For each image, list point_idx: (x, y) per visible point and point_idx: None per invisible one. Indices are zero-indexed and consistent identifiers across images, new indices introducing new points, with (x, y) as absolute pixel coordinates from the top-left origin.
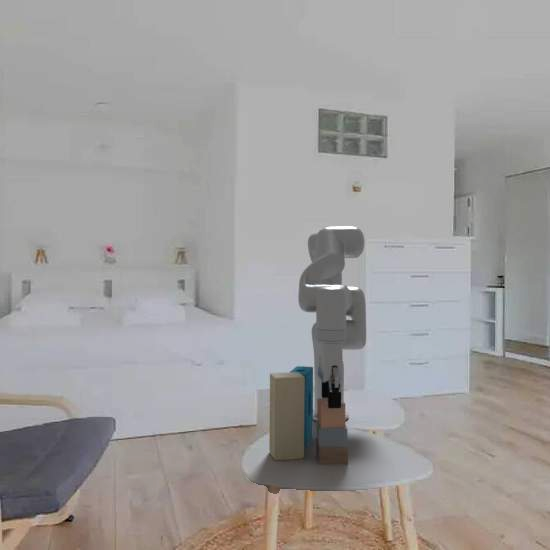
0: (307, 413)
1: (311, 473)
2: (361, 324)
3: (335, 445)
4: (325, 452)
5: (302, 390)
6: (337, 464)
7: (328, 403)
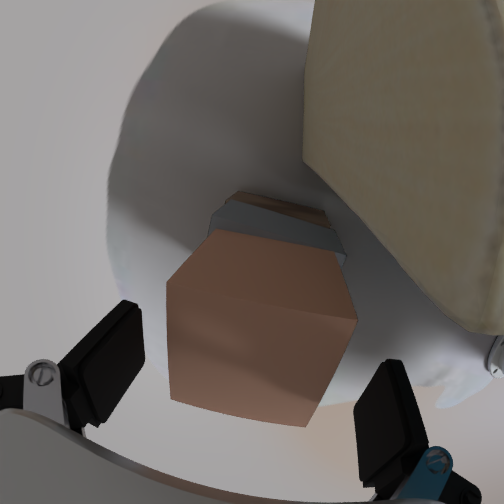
0: None
1: (182, 148)
2: None
3: None
4: None
5: (348, 172)
6: None
7: (110, 313)
